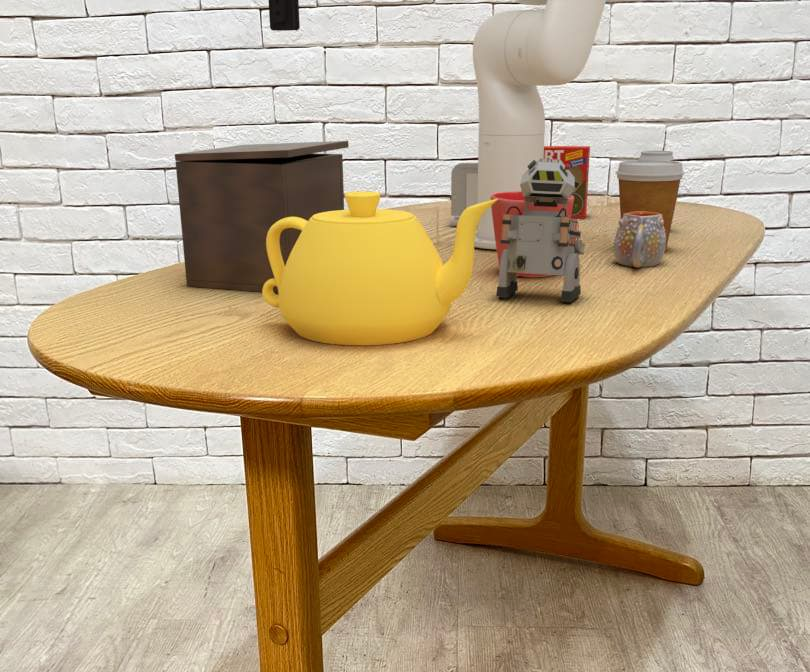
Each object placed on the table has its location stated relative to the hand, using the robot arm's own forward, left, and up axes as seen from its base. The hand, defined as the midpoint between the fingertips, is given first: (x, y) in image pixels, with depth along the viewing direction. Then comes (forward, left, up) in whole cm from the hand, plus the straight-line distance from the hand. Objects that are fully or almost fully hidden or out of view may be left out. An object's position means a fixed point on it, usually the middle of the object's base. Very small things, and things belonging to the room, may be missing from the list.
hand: (285, 29), depth 131 cm
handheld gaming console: (-8, -54, -29) cm, 62 cm away
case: (+2, +4, -29) cm, 29 cm away
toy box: (-12, -65, -29) cm, 72 cm away
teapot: (-23, +25, -29) cm, 45 cm away
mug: (-40, -21, -29) cm, 54 cm away
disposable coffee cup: (-38, -35, -29) cm, 59 cm away
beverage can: (-35, -54, -29) cm, 71 cm away
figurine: (-34, +2, -29) cm, 45 cm away
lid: (+2, +4, -14) cm, 14 cm away
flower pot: (-28, -12, -29) cm, 42 cm away
